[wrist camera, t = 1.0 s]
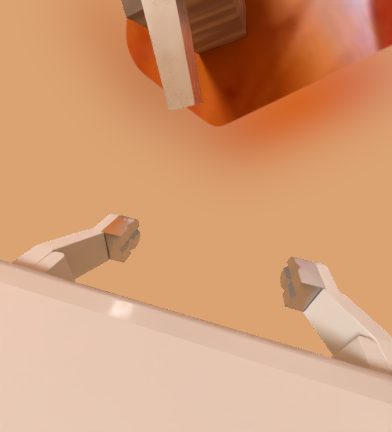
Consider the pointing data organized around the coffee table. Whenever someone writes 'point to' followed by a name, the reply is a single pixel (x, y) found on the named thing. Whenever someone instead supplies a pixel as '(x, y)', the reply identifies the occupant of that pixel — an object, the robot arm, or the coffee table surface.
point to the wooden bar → (174, 51)
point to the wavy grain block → (204, 21)
